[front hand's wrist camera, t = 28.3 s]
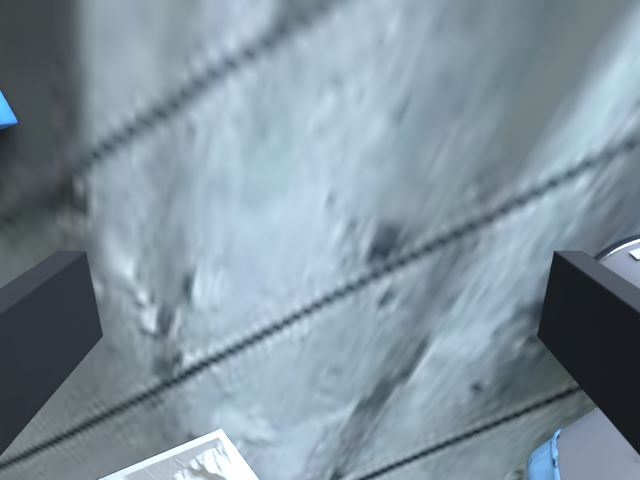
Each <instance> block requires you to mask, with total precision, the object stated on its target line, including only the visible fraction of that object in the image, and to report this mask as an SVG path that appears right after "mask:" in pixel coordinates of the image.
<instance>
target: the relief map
mask: <svg viewBox="0 0 640 480" xmlns="http://www.w3.org/2000/svg"><path fill="white" fill-rule="evenodd" d="M99 480H259V479H258V478H257V476H256V475H255V474H254V472H253V471H252V470H251V468H250V467H249V466H248V464H247V463H246V462H245V460H244V459H243V458H242V456H241V455H240V454H239V452H238V451H237V450H236V448H235V447H234V445H233V444H232V443H231V441H230V440H229V439H228V437H227V436H226V435H225V433H224V432H223V431H222V429H219V430H217V431H214V432H212V433H209V434H207V435H204V436H202V437H200V438H197V439H195V440H192V441H190V442H188V443H185V444H183V445H180V446H178V447H176V448H173V449H171V450H168V451H166V452H164V453H161V454H159V455H156V456H154V457H152V458H149V459H147V460H144V461H142V462H140V463H137V464H135V465H132V466H130V467H127V468H125V469H123V470H120V471H118V472H115V473H113V474H111V475H108V476H106V477H103V478H101V479H99Z"/></svg>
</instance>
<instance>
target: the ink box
mask: <svg viewBox="0 0 640 480" xmlns="http://www.w3.org/2000/svg"><path fill="white" fill-rule="evenodd" d="M14 124H17V120H16V118H15V116H14V114H13V112H12V111H11V109H10V107H9V105H8V104H7V102H6V100H5V98H4V97H3V95H2V93H1V91H0V130H1V129H4V128H7V127H9V126H12V125H14Z"/></svg>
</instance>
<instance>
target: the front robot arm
mask: <svg viewBox="0 0 640 480" xmlns="http://www.w3.org/2000/svg"><path fill="white" fill-rule="evenodd" d="M102 336H103V334H102V329H101V324H100V319H99V314H98V309H97V304H96V299H95V294H94V289H93V284H92V279H91V274H90V269H89V264H88V259H87V254H86V251H58V252H56V253H55V254H53V255H51V256H50V257H48V258H47V259H45V260H44V261H42V262H41V263H39V264H38V265H36V266H34V267H33V268H31V269H30V270H28V271H27V272H25V273H24V274H22V275H21V276H19V277H17V278H16V279H14V280H13V281H11V282H10V283H8V284H7V285H5V286H4V287H2V288H0V456H1V454H2V453H3V452H4V451H5V450H6V449H7V447H8V446H9V445H10V444H11V443H12V442H13V440H14V439H15V438H16V437H17V436H18V435H19V433H20V432H21V431H22V430H23V429H24V428H25V426H26V425H27V424H28V423H29V422H30V420H31V419H32V418H33V417H34V416H35V415H36V413H37V412H38V411H39V410H40V409H41V408H42V406H43V405H44V404H45V403H46V402H47V401H48V399H49V398H50V397H51V396H52V395H53V394H54V392H55V391H56V390H57V389H58V388H59V387H60V385H61V384H62V383H63V382H64V381H65V380H66V378H67V377H68V376H69V375H70V374H71V373H72V371H73V370H74V369H75V368H76V367H77V365H78V364H79V363H80V362H81V361H82V360H83V358H84V357H85V356H86V355H87V354H88V353H89V351H90V350H91V349H92V348H93V347H94V346H95V344H96V343H97V342H98V341H99V340H100V339H101V337H102ZM537 336H538V337H539V339H540V340H541V341H542V342H543V343H544V344H545V346H546V347H547V348H548V349H549V350H550V351H551V353H552V354H553V355H554V356H555V357H556V358H557V360H558V361H559V362H560V363H561V364H562V365H563V367H564V368H565V369H566V370H567V371H568V373H569V374H570V375H571V376H572V377H573V378H574V380H575V381H576V382H577V383H578V384H579V385H580V387H581V388H582V389H583V390H584V391H585V392H586V394H587V395H588V396H589V397H590V398H591V399H592V401H593V402H594V403H595V404H596V405H597V406H598V407H597V408H595V409H594V410H592V411H591V412H589V413H588V414H586V415H584V416H583V417H581V418H580V419H578V420H577V421H575V422H573V423H572V424H570V425H569V426H567V427H566V428H564V429H559V430H557V431H556V432H555V433H554V435H553V437H552V438H551V439H549V440H548V441H547V442H545V443H544V444H543V445H541V446H540V447H539V448H537V449H536V450H535V451H533V452H532V454H531V455H530V457H529V459H528V462H527V480H640V235H637V236H633V237H630V238H626V239H624V240H622V241H619V242H617V243H615V244H613V245H611V246H610V247H608V248H606V249H605V250H604V251H602V252H601V253H599V254H598V255H597V256H596V257H595V258H594V259H593V258H592V257H590V256H589V255H587V254H585V253H584V252H582V251H554V254H553V259H552V264H551V269H550V274H549V279H548V284H547V289H546V294H545V299H544V304H543V309H542V314H541V319H540V324H539V329H538V334H537Z"/></svg>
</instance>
